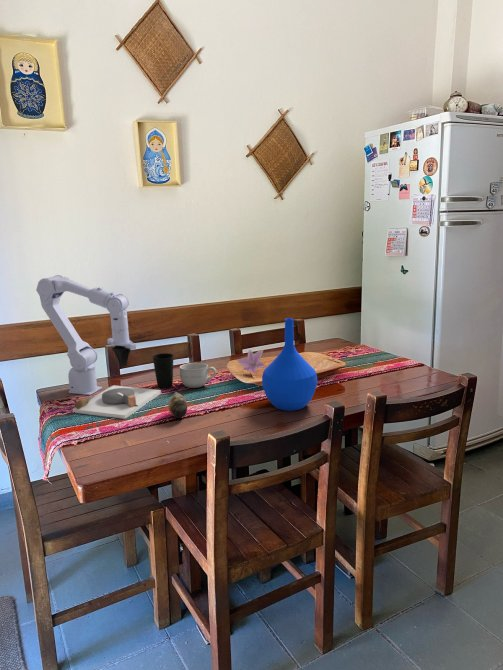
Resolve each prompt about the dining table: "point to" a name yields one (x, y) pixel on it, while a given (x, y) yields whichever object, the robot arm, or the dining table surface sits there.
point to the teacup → (195, 374)
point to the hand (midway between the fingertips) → (123, 365)
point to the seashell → (177, 405)
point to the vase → (289, 376)
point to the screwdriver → (82, 402)
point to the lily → (252, 361)
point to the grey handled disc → (119, 396)
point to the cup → (164, 370)
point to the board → (117, 410)
